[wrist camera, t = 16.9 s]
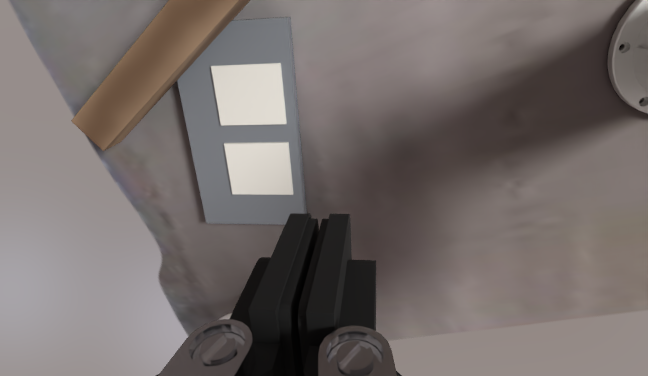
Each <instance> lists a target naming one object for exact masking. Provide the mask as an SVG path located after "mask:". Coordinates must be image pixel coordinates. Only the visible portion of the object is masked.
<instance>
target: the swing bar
mask: <svg viewBox="0 0 648 376" xmlns="http://www.w3.org/2000/svg"><path fill="white" fill-rule="evenodd" d="M249 1H250V0H169V1H168V2H167V3H166V5H165V6H164V7H163V8H162V10H161V11H160V12H159V13H158V14H157V16H156V17H155V18H154V19H153V21H152V22H151V23H150V24H149V26H148V27H147V28H146V29H145V31H144V32H143V33H142V34H141V35H140V37H139V38H138V39H137V40H136V42H135V43H134V44H133V45H132V47H131V48H130V49H129V50H128V51H127V53H126V54H125V55H124V56H123V58H122V59H121V60H120V61H119V63H118V64H117V65H116V66H115V68H114V69H113V70H112V71H111V72H110V74H109V75H108V76H107V77H106V79H105V80H104V81H103V82H102V84H101V85H100V86H99V87H98V88H97V90H96V91H95V92H94V93H93V95H92V96H91V97H90V98H89V100H88V101H87V102H86V103H85V105H84V106H83V107H82V108H81V109H80V111H79V112H78V113H77V114H76V116H75V117H74V118H73V119H72V122H73V123H74V124H75V125H76V126H77V127H78V128H79V129H80V130H81V131H82V132H84V133H85V134H86V135H87V136H88V137H89V138H90V139H91V140H92V141H93V142H94V143H95V144H96V145H97V146H99V147H100V148H101V149H102V150H103V151H104V150H106V149H108V148H110V147H112V146H114V145H116V144H118V143H120V142H121V141H122V140H123V139H124V138H125V137H126V136H127V135H128V134H129V132H130V131H131V130H132V129H133V128H134V127H135V126H136V125H137V124H138V123H139V121H140V120H141V119H142V118H143V117H144V116H145V115H146V114H147V113H148V112H149V111H150V109H151V108H152V107H153V106H154V105H155V104H156V103H157V102H158V101H159V100H160V98H161V97H162V96H163V95H164V94H165V93H166V92H167V91H168V90H169V89H170V88H171V86H172V85H173V84H174V83H175V82H176V81H177V80H178V79H179V78H180V77H181V75H182V74H183V73H184V72H185V71H186V70H187V69H188V68H189V67H190V66H191V65H192V63H193V62H194V61H195V60H196V59H197V58H198V57H199V56H200V55H201V54H202V52H203V51H204V50H205V49H206V48H207V47H208V46H209V45H210V44H211V43H212V42H213V40H214V39H215V38H216V37H217V36H218V35H219V34H220V33H221V32H222V31H223V29H224V28H225V27H226V26H227V25H228V24H229V23H230V22H231V21H232V20H233V19H234V17H235V16H236V15H237V14H238V13H239V12H240V11H241V10H242V9H243V8H244V6H245V5H246V4H247V3H248V2H249Z"/></svg>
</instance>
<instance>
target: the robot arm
mask: <svg viewBox="0 0 648 376" xmlns="http://www.w3.org/2000/svg"><path fill="white" fill-rule="evenodd" d="M621 44H622V47H621V48H620V49H619V47H620V45H621ZM607 65H608V72H609V78H610V81H611V83H612V86H613V88H614V90H615V91H616V92H617V94H618V95H619V97H620V98H621V99H622V100H623V101H625V102H626V103H627V104H628V105H629V106H631V107H633V108H635V109H637V110H639V111H642V112H645V113H647V114H648V0H635V1H634V3H633V4H632V5H631V6H630V7H629V8H628V10H627V11H626V13H625V14H624V16H623V17H622V19H621V20H620V21H619V23H618V26H617V28H616V30H615V32H614V34H613V36H612V40H611V43H610V47H609V51H608V63H607ZM640 99H641V101H640ZM156 376H401V375H400V374H399V373H398V372H397V371H396V369H395V364H394V360H393V355H392V351H391V348H390V346H389V343H388V341H387V340H386V339H385V338H384V337H383V336H382V335H381V334H379V333H378V332H376V261H371V260H352V258H351V228H350V214H330V216H329V219H322V222H321V226H320V230H319V227H318V220H317V219H311V215H310V214H301V213H291V214H290V215H289V218H288V220H287V222H286V224H285V227H284V229H283V231H282V234H281V236H280V238H279V240H278V243H277V245H276V247H275V250H274V252H273V254H272V257H271V258H265V257H261V258H259V260H258V261H257V263H256V265H255V267H254V269H253V271H252V273H251V275H250V277H249V279H248V281H247V284H246V286H245V288H244V290H243V292H242V294H241V296H240V298H239V300H238V302H237V304H236V306H235V308H234V310H233V312H232V315H231V317H230V319H222V320H216V321H212V322H210V323H207V324H205V325H203V326H201V327H200V328H198V329H197V330H195V331H194V332H193V333H192V334H191V335H190V336H189V337H188V338H187V339H186V340H185V342H184V343H183V344H182V346H181V347H180V348H179V349H178V351H177V352H176V353H175V355H174V356H173V357H172V358H171V360H170V361H169V362H168V364H167V365H166V366H165V367H164V369H163V370H162V371H161V373H160V374H158V375H156Z"/></svg>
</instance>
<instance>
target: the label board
mask: <svg viewBox="0 0 648 376" xmlns="http://www.w3.org/2000/svg"><path fill="white" fill-rule="evenodd" d="M177 83H178V87H179V92H180V97H181V102H182V107H183V112H184V117H185V122H186V126H187V131H188V136H189V141H190V146H191V151H192V156H193V161H194V165H195V170H196V175H197V180H198V185H199V190H200V195H201V200H202V204H203V209H204V214H205V219H206V223H215V224H277V225H285V224H286V222H287V220H288V218H289V215H290V214H291V213H301V214H307V210H306V198H305V186H304V174H303V162H302V150H301V139H300V127H299V115H298V103H297V91H296V79H295V67H294V55H293V44H292V32H291V20H290V17H281V18H265V19H248V20H232V21H231V22H230V23H229V24H228V25H227V26H226V27H225V28H224V29H223V31H222V32H221V33H220V34H219V35H218V36H217V37H216V38H215V39H214V40H213V42H212V43H211V44H210V45H209V46H208V47H207V48H206V49H205V50H204V51H203V52H202V54H201V55H200V56H199V57H198V58H197V59H196V60H195V61H194V62H193V63H192V65H191V66H190V67H189V68H188V69H187V70H186V71H185V72H184V73H183V74H182V75H181V77H180V78H179V79H178V80H177Z"/></svg>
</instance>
